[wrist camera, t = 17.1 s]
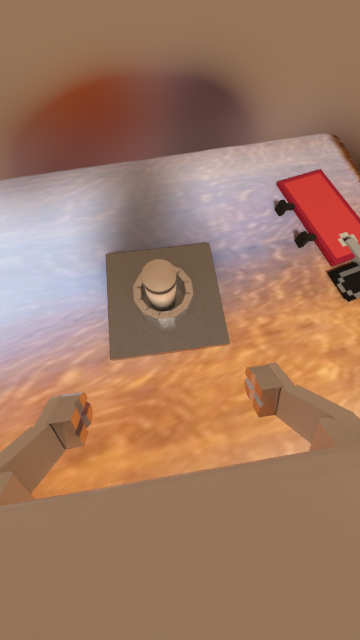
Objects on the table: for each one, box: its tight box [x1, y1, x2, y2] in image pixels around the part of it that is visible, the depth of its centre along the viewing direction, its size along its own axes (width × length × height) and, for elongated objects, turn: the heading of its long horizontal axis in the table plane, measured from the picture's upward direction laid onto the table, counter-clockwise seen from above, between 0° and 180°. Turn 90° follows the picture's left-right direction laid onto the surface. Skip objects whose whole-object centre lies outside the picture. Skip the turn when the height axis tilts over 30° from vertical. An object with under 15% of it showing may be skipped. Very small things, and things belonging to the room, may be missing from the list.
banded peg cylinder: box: [141, 259, 177, 310], centre depth 34 cm, size 5×5×8 cm
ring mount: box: [106, 243, 230, 361], centre depth 37 cm, size 20×20×4 cm
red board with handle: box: [275, 169, 360, 302], centre depth 43 cm, size 30×3×15 cm
